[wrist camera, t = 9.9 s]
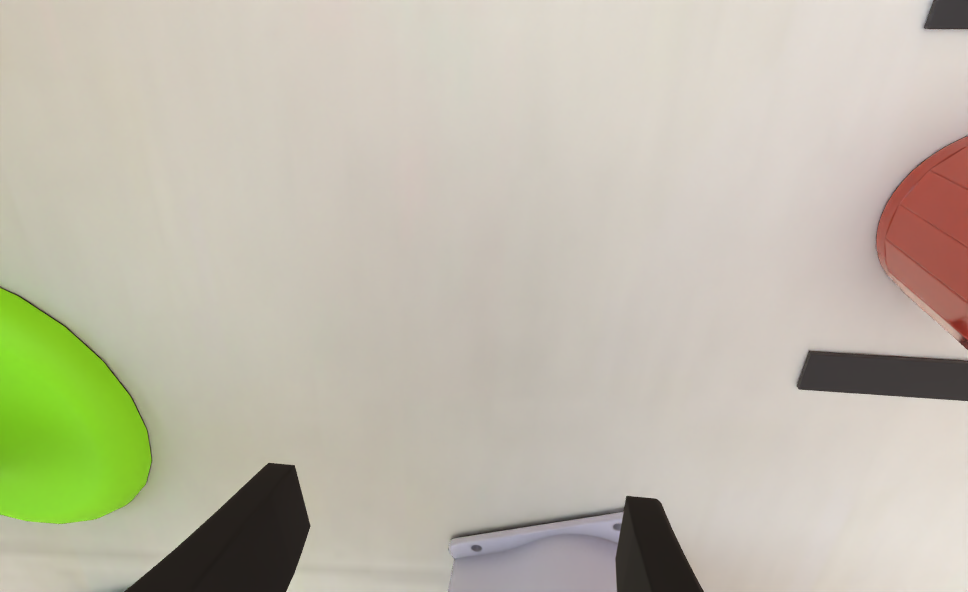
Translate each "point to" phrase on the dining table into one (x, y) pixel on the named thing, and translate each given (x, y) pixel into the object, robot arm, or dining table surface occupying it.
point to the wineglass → (62, 424)
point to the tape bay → (954, 7)
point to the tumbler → (931, 238)
